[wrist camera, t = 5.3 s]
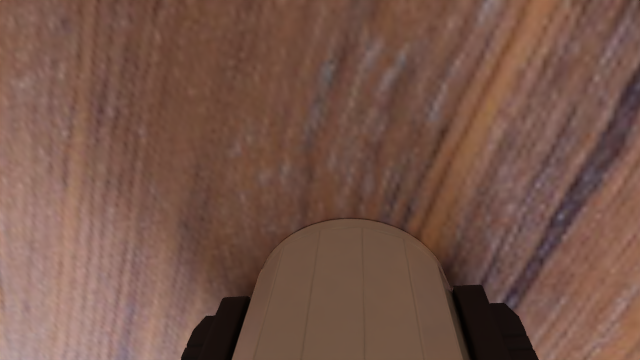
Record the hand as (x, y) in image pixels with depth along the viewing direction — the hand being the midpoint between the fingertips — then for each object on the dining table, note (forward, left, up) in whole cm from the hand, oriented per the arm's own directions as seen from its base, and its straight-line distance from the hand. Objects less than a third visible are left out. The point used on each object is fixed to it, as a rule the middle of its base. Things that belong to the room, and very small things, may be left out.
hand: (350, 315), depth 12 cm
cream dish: (0, 0, -1) cm, 1 cm away
